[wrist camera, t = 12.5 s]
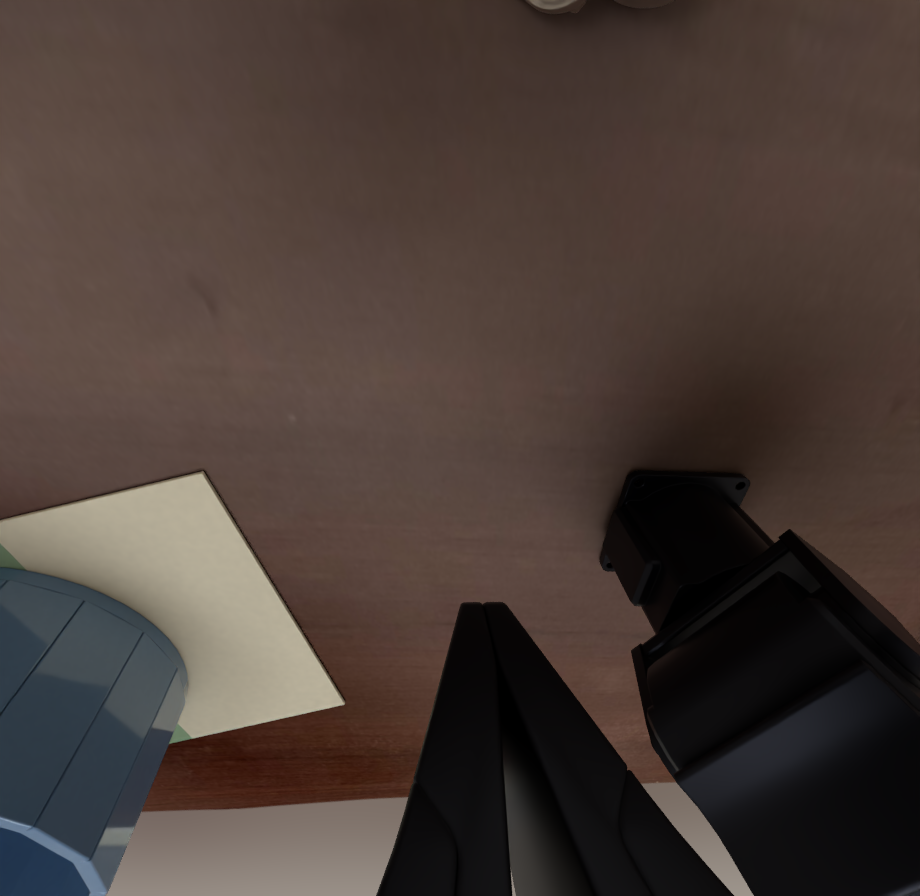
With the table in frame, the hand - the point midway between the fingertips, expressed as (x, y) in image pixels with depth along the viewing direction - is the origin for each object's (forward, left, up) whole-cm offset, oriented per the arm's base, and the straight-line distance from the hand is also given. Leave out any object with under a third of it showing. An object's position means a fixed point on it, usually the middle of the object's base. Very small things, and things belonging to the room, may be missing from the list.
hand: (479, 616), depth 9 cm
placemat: (+17, +18, -13) cm, 28 cm away
